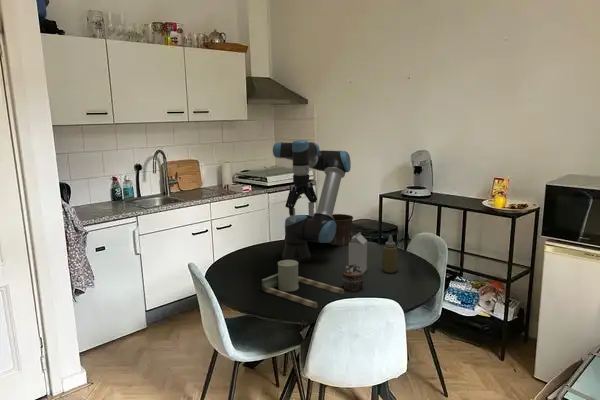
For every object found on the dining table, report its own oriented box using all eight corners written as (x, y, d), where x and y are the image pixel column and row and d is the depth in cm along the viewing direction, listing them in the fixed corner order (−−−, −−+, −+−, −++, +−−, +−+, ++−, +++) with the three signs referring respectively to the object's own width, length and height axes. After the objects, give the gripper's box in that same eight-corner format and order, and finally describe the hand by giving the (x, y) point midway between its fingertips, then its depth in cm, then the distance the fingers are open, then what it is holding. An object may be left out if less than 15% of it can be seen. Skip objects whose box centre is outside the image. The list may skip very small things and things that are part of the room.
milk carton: (366, 270, 222) (367, 232, 218) (362, 274, 215) (362, 236, 212) (353, 268, 225) (353, 231, 221) (348, 272, 218) (348, 234, 215)
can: (277, 284, 204) (277, 259, 202) (297, 283, 205) (297, 258, 203) (278, 292, 195) (277, 265, 193) (299, 291, 196) (299, 264, 194)
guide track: (262, 290, 197) (261, 279, 197) (291, 278, 212) (291, 268, 211) (315, 308, 178) (315, 296, 177) (343, 293, 193) (343, 282, 192)
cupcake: (337, 286, 201) (337, 264, 199) (355, 282, 206) (355, 261, 204) (350, 293, 193) (350, 271, 191) (368, 288, 198) (368, 267, 196)
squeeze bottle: (398, 274, 215) (399, 237, 212) (381, 273, 217) (381, 237, 213) (398, 268, 223) (399, 233, 220) (381, 267, 225) (382, 232, 221)
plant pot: (358, 244, 266) (358, 217, 263) (336, 248, 258) (336, 221, 255) (342, 238, 280) (342, 212, 277) (320, 242, 272) (320, 216, 269)
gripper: (289, 178, 196) (290, 225, 200) (323, 171, 214) (324, 214, 219) (276, 177, 201) (278, 223, 205) (311, 170, 219) (312, 212, 224)
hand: (302, 218), depth 212 cm, fingers open, 13 cm apart
